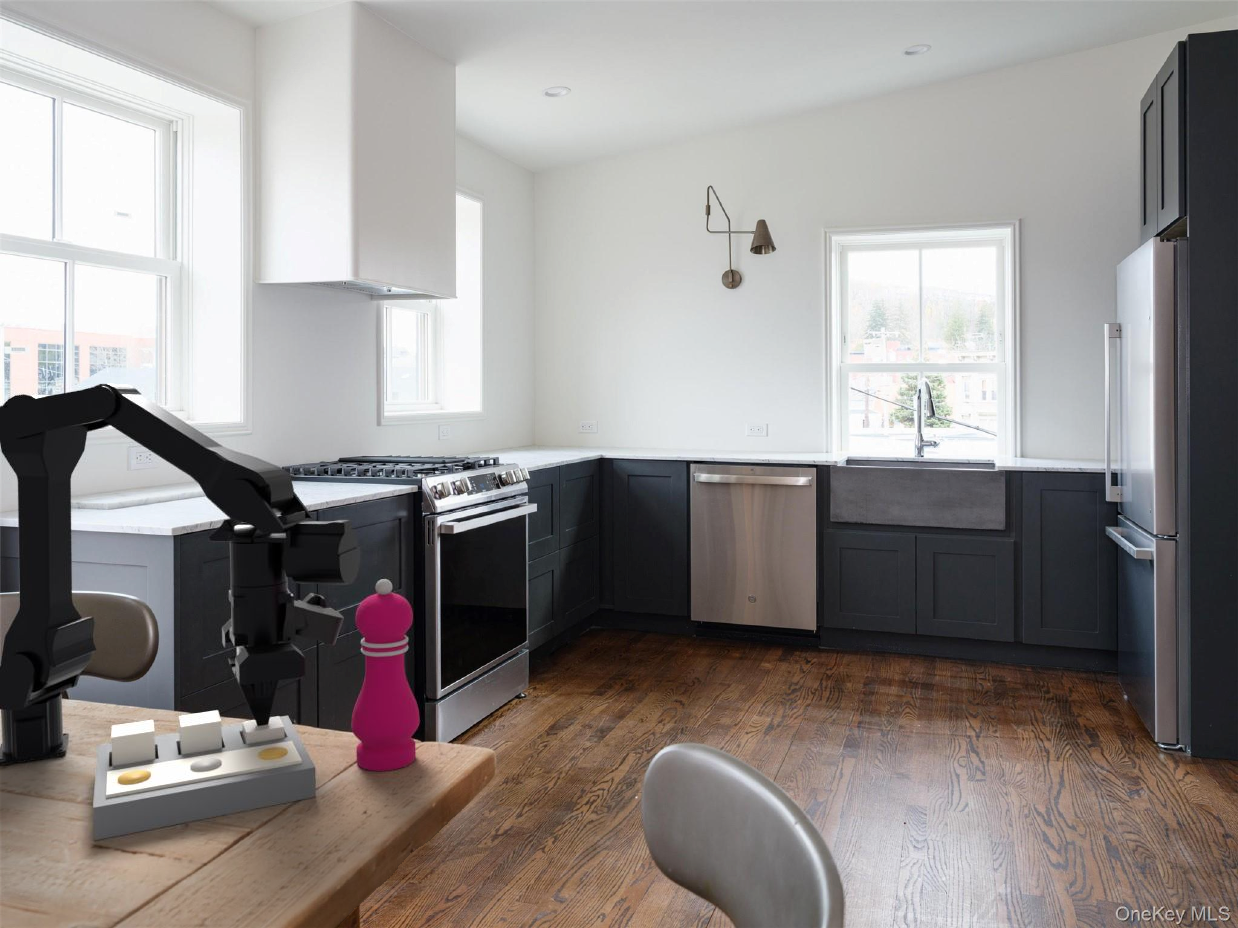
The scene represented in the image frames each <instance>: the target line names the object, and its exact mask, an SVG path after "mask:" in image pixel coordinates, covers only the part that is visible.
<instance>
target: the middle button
mask: <svg viewBox="0 0 1238 928" xmlns="http://www.w3.org/2000/svg"><path fill="white" fill-rule="evenodd" d="M221 726H222V719H221V715H220V712H219V710H218V709H216V710H210V711H203V712H197V713H190V714H182V715H179V716H178V731H179V739H180V750H181V755H183V754H189V753H195V752H202V751H208V750H214V749H220V748H222V731H221Z"/></svg>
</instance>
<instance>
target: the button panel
mask: <svg viewBox="0 0 1238 928" xmlns="http://www.w3.org/2000/svg"><path fill="white" fill-rule="evenodd" d="M279 717H280V719H281V721H282V723H283V725H284V738H280V739H274V740H268V741H262V742H256V743H250V744H244V743H243V734H242V722H237V723H231V724H224V725H221V731H222V748H220V749H214V750H208V751H202V752H195V753H189V754H183V755H181V750H180V739H179V732H178V731H177V732H173V733H166V734H160V735H159V734H158V735H155V759H153V760H147V761H141V762H135V763H129V764H123V765H117V766H112V742H108V743H101V744H97V748H96V751H97V752H96V762H95V763H96V764H95V775H94V776H95V777H94V787H93V788H94V790H93V802H92V803H93V804H92V816H93V817H92V820H93V841H95V842H96V841H99V840H103V839H109V838H114V837H119V836H125V835H129V834H135V833H139V832H145V831H150V830H155V829H160V828H165V827H169V826H173V825H174V826H175V825H179V824H185V823H191V822H195V821H199V820H200V821H201V820H205V819H210V818H215V817H220V816H225V815H230V814H236V813H240V812H246V811H251V810H256V809H261V808H266V807H271V806H275V805H281V804H286V803H292V802H295V801H302V800H306V799H310V798H311V799H312V798H316V797H317V788H316V787H317V785H316V783H317V782H316V780H317V779H316V778H317V777H316V773H317V772H316V766H315V764H314V762H313V760H312V759H311V756H310V754H309V753H308V751H307V749H306V747H305V745H304V743H303V741H302V739H301V737H300V735H299V733H298V732H297V730H296V728H295V726H294V725H293V723H292V721H291V719H290V717H289V715H283V716H279Z"/></svg>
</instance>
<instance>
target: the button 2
mask: <svg viewBox="0 0 1238 928" xmlns="http://www.w3.org/2000/svg"><path fill="white" fill-rule="evenodd" d="M280 717H281V716H280V715H277V716H270V719H269V723H268V724H267V725H262V726H258V725H257V723H256V721H255V719H251V720H246V721H241V723H242V734H243V743H244V744H250V743H256V742H262V741H268V740H274V739H280V738H284V725H283V723H282V721H281V719H280Z"/></svg>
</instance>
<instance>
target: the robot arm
mask: <svg viewBox="0 0 1238 928" xmlns="http://www.w3.org/2000/svg"><path fill="white" fill-rule="evenodd" d="M109 426H111V427H112V428H114V429H115V430H116V431H118V432H120V433H121V434H123V435H125V436H126V437H128V438H129V439H131V440H133V441H135V442H136V443H137V444H139V445H140V446H142V447H144V448H146V449H147V450H148V451H150V452H152V453H153V454H155V455H157V456H158V457H159V458H161V459H162V460H164V461H166V462H167V463H169V464H170V465H172V466H174V467H175V468H177V469H178V470H179V471H181V472H183V473H184V474H186V475H188V476H189V477H191V478H192V479H193V480H194V481H195V482H196V483H197V484H198V485H199V486H200V488H201V490H202V492H203V494H204V495H205V497H206V498H207V499H208V501H210V502H211V503H212V504H213V505H214V506H215V507H216V508H218V509H219V510H220V511H221V512H222V513H223V514H224V515H225V516H226V517H228V518H226V519H223V521H222V523H221V525H220V526H219V527H218V528H216V529H215V530H214V531H213V532H212V533H210V534H209V536H208V540H209V541H210V542H212V543H213V542H214V543H215V542H218V543H220V542H222V543H223V542H224V543H226V542H227V543H229V566H230V567H229V572H230V575H229V576H230V589H229V590H228V600H229V602H230V612H231V613H230V614H231V615H230V616H231V617H230V619H228V620H227V621H226V622H225V624H224V625H222V627H221V636H222V638H221V642H222V645H223V647H224V649H229V648H231V645H232V644H233V646H234V648H236V655H233V656H230V657H228V658H227V659H228V660H227V661H228V663H229V665H230V667H231V670H232V672H233V674H234V677H235V678H236V681H237V683H238V686H239V688H240V690H241V692H242V695H243V697H244V699H245V701H246V703H247V706H248V708H249V710H250V712H251V714H252V717H253V720H255V721H256V723H257V725H258V726H262V725H267V724H268V723H269V719H270V717H271V714H272V710H273V706H274V702H275V701H274V700H275V698H276V697H275V696H276V693H277V689H278V685H279V681H285V680H289V679H290V680H292V679H298V678H302V677H304V676H306V664H305V663H306V659H305V655H303V653H302V652H301V650H300V649H299V648H298V647H297V646H295V645H294V644H293V643H291V642H297V641H296V640H297V638H296V636H300V637H303V638H307V639H312V640H317V641H321V642H323V644H325V645H330V646H331V645H332V646H334V645H336V643H337V639H338V636H339V634H340V630H341V629H342V625H343V621H344V619H345V617H344V615H342V614H341V613H340V612H339V611H338V610H336V609H334V608H332V607H327V603H326V599H325V597H324V596H322V595H321V594H320V595H319V594H315V593H312V592H310V593H309V594H308V595H307V596H305V598H304V599H303V600H300V599H297V600H295V596H294V593H291V591H290V590H289V589H288V588H289V585H288V584H289V583H288V582H289V581H288V578H291V579H292V580H293V582H294V583H296V584H307V585H309V584H311V585H312V584H313V585H315V584H316V585H317V584H318V585H320V584H321V585H322V584H323V585H351V584H353V583H354V581H355V580H356V578H357V577H358V576H357V575H358V573H359V570H360V569H359V568H360V565H361V548H360V547H359V544H358V543H359V542H358V539H357V537H356V536H357V535H356V534H355V533H354V532H353V531H352V521H351V520H350V519H337V520H334V521H323V520H321V521H319V520H318V521H316V519H315V518H314V516H313V515H312V514H311V512H310V511H309V509H307V507H306V506H305V504H304V503H303V501H302V500H301V499H300V497H299V496H298V495H297V494H296V492H295V491H294V485H293V478H292V477H291V475H290V474H289V472H287V471H286V470H285V469H284V468H282V467H280V466H279V465H276V464H273V463H271V462H268V461H267V460H264V459H261V458H259V457H256V456H253V455H250V454H246V453H243V452H239V451H235V450H233V449H230V448H227V447H225V446H223V445H222V444H220V443H218V442H217V441H215V440H214V439H212V438H211V437H209V436H208V435H206V434H205V433H203V432H201V431H199V430H198V429H196V428H195V427H193V426H192V425H190V424H189V423H187V422H186V421H184V420H182V419H181V418H179V417H178V416H176V415H174V414H172V412H169V411H167V410H166V409H165V408H164V407H161V406H160V405H158V404H157V403H155V402H154V401H152V400H150V399H149V398H147V397H146V396H144V395H142V393H141V392H140V391H139V390H138V389H137V388H135V387H134V386H132V385H129V384H120V383H119V384H118V383H117V384H115V383H98V384H97V385H95V386H91V387H88V388H84V389H80V390H74V391H69V392H63V393H57V394H29V393H26V394H24V393H23V394H22V393H21V394H17V395H13V396H12V397H9V398H8V399H7V400H6V401H5V402H4V403H2V405H0V451H1V453H2V455H3V456H4V458H5V460H6V461H7V463H8V464H9V466H10V467H11V469H12V470H13V471H12V472H14V473H15V476H16V480H17V516H18V517H17V523H18V524H17V525H18V529H17V531H18V535H17V536H18V587H19V588H18V590H19V595H18V599H19V601H18V602H19V604H18V605H19V606H18V610H17V612H16V614H15V616H14V618H13V620H12V621H11V624H10V625H9V627H8V629H7V631H6V633H5V635H4V638H3V643H2V649H1V650H2V652H1V658H0V720H1V722H0V723H1V744H0V766H3V765H10V764H16V763H22V762H29V761H35V760H42V759H49V758H55V757H60V756H65V755H66V754H67V751H68V745H69V738H70V733H69V732H64V725H63V724H64V723H63V721H64V720H63V719H64V718H63V694H62V692H65V691H66V690H69V689H72V688H75V687H77V686H78V683H79V680H80V676H81V673H82V671H83V670H84V669H85V668H86V667H87V666H89V664H90V661H91V656H92V653H95V652H96V651H97V647H96V645H95V641H94V631H95V630H94V629H95V625H96V624H95V622H96V621H95V620H94V617H93V616H87V617H86V616H85V617H82V616H81V614H80V613H79V611H78V609H76V607H75V605H74V603H73V578H72V577H73V574H72V573H73V572H72V571H73V568H72V567H73V563H72V559H73V558H72V555H73V554H72V552H73V550H72V486H71V485H72V484H71V483H72V475H73V473H74V471H75V469H76V467H77V466H78V463H79V461H80V459H81V457H82V456H83V454H84V453H85V449H86V442H87V436H88V433H90V432H93V431H97V430H101V429H104V428H108V427H109ZM279 515H280V516H279ZM245 523H246V524H245ZM247 523H248V524H247ZM231 643H232V644H231Z"/></svg>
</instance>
